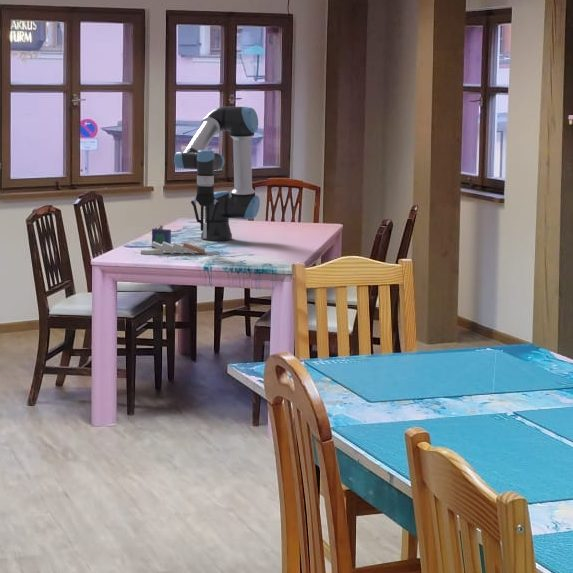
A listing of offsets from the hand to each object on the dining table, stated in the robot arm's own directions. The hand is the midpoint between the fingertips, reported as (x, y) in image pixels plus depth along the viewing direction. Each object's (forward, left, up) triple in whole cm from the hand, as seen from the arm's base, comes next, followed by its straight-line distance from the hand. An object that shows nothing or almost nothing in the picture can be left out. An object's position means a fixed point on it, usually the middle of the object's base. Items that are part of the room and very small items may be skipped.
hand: (204, 237), depth 531 cm
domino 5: (0, 0, -6) cm, 6 cm away
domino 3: (-7, -7, -6) cm, 11 cm away
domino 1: (-13, -13, -6) cm, 19 cm away
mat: (-6, -6, -7) cm, 11 cm away
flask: (-26, -2, -8) cm, 27 cm away
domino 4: (-3, -3, -6) cm, 8 cm away
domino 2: (-10, -10, -6) cm, 15 cm away
